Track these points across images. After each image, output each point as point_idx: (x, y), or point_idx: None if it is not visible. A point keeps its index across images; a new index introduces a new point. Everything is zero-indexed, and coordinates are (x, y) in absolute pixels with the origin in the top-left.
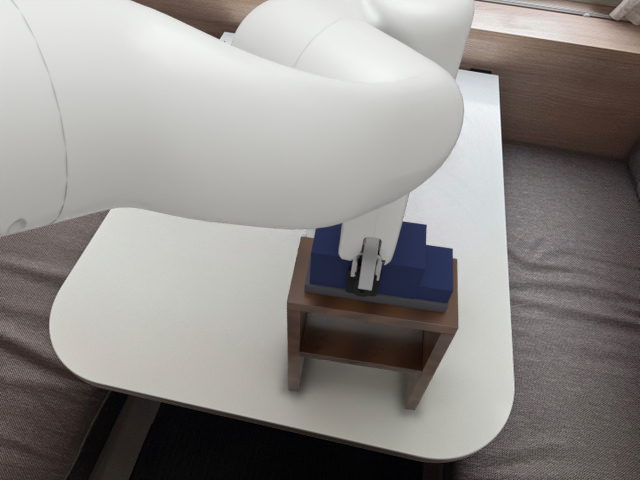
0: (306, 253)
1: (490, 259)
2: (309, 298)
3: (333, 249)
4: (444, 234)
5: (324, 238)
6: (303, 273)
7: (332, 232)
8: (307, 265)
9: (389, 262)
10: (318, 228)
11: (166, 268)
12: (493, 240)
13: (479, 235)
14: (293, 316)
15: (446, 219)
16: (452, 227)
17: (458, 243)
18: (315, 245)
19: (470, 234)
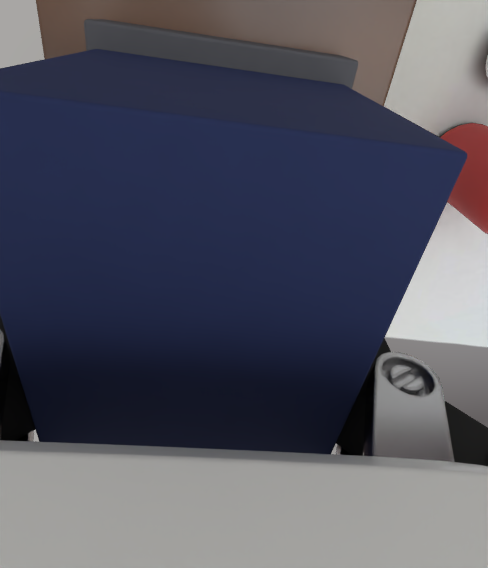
0: (313, 22)
1: (393, 326)
2: (78, 48)
3: (45, 271)
4: (451, 277)
5: (137, 204)
6: (203, 10)
7: (209, 261)
8: (246, 30)
9: None
10: (240, 150)
11: None
12: (423, 333)
13: (436, 319)
14: None
15: (478, 282)
16: (460, 288)
17: (429, 293)
18: (32, 127)
19: (441, 309)
